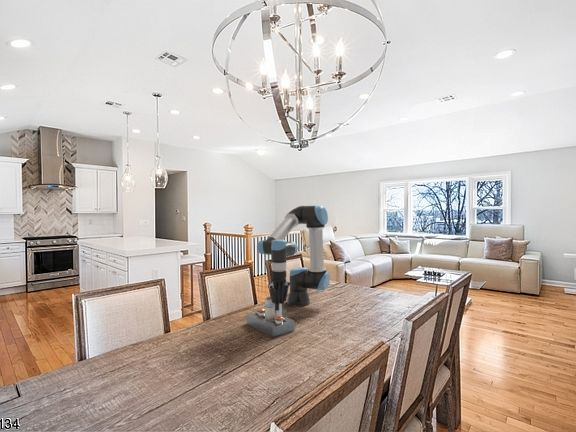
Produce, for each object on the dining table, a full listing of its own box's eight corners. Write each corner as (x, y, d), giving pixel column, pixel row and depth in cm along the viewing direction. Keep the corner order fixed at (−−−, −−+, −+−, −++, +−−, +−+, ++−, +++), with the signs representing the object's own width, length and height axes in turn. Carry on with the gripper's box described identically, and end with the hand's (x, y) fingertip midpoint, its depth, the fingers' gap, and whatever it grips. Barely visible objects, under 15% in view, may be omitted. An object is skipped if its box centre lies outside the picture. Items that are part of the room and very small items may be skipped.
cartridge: (271, 324, 173) (270, 295, 173) (276, 327, 169) (276, 297, 169) (263, 326, 170) (263, 296, 169) (268, 329, 166) (268, 298, 166)
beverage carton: (273, 321, 179) (273, 309, 179) (266, 310, 198) (266, 300, 198) (287, 319, 181) (287, 308, 181) (279, 309, 200) (279, 299, 200)
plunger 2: (280, 327, 167) (280, 314, 167) (286, 330, 163) (286, 317, 163) (272, 329, 164) (272, 316, 163) (278, 332, 160) (278, 319, 159)
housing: (267, 318, 183) (267, 309, 183) (294, 330, 165) (294, 320, 164) (246, 323, 174) (246, 314, 174) (272, 337, 156) (272, 327, 156)
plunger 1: (262, 319, 179) (262, 307, 179) (268, 321, 175) (268, 309, 175) (254, 321, 176) (254, 309, 176) (260, 323, 172) (260, 311, 172)
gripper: (284, 267, 170) (284, 311, 170) (264, 270, 161) (264, 317, 162) (293, 269, 164) (293, 315, 164) (273, 273, 156) (273, 321, 156)
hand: (279, 316), depth 163 cm, fingers closed
